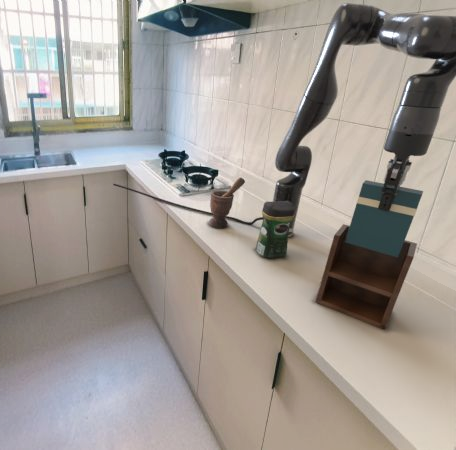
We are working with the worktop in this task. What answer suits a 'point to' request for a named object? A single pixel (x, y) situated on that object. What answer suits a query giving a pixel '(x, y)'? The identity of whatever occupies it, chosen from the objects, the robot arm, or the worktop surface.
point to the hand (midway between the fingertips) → (385, 207)
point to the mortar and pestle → (222, 204)
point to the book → (382, 219)
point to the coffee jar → (275, 229)
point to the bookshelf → (363, 280)
